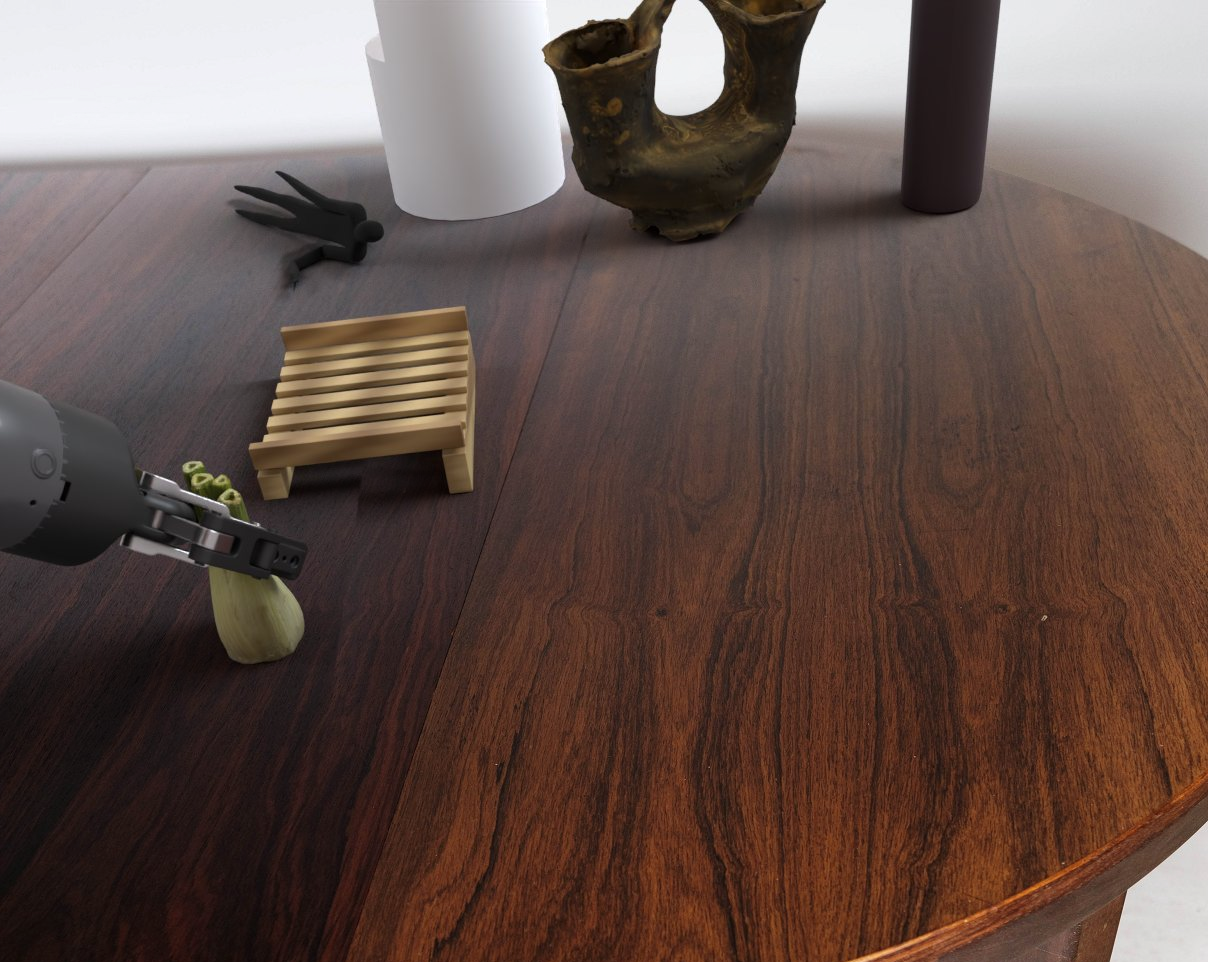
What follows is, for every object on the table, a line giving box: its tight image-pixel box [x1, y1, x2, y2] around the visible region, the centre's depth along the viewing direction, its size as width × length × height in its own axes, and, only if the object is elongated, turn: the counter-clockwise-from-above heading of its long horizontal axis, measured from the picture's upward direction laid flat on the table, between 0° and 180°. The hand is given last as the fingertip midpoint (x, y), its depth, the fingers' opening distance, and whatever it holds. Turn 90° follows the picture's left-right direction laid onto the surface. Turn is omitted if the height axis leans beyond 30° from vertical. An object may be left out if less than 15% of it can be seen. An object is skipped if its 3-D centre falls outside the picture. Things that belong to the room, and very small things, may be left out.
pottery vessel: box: [542, 0, 827, 242], centre depth 112 cm, size 25×11×20 cm, turn 112°
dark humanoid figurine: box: [233, 170, 385, 293], centre depth 120 cm, size 8×9×25 cm
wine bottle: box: [900, 0, 1002, 214], centre depth 107 cm, size 7×7×30 cm
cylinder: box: [364, 0, 566, 222], centre depth 121 cm, size 17×17×28 cm
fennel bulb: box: [181, 460, 305, 665], centre depth 73 cm, size 6×5×12 cm
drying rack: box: [248, 305, 477, 501], centre depth 93 cm, size 14×18×5 cm
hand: (260, 546), depth 74 cm, fingers closed on fennel bulb, 5 cm apart
